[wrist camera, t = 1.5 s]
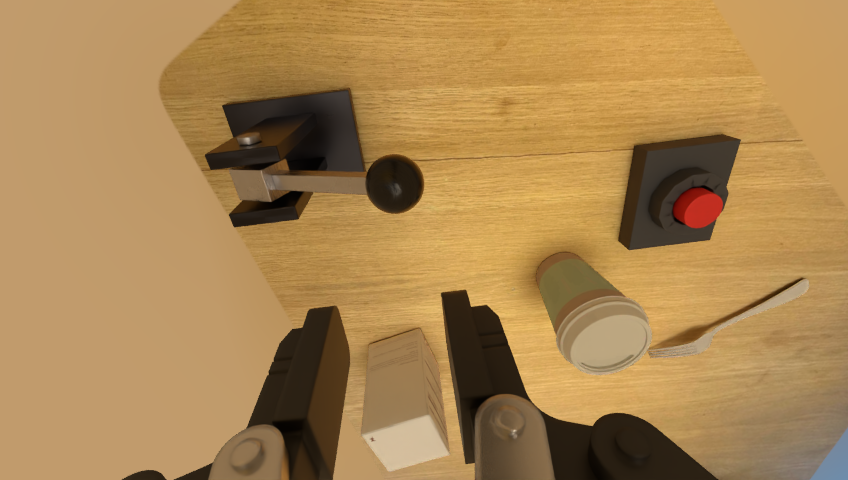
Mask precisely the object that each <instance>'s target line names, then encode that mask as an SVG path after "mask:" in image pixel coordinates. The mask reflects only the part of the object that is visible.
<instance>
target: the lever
mask: <svg viewBox="0 0 848 480" xmlns="http://www.w3.org/2000/svg"><path fill="white" fill-rule="evenodd" d="M229 172H230V175H231V177H232V180H233V182H234V185H235V188H236V190H237V193H238V196H239V198H240V200H246V201H261V202H273V201H274V200H276V199H278V198H280V197H281V196H283V195H285V194H286V193H288V192H290V191H303V192H323V193H342V194H362V195H368V197H369V199H370V201H371V202H372V203H373V204H374V206H376V207H377V208H378V209H380V210H382V211H384V212H386V213H391V214H399V213H404V212H406V211H408V210H410V209H412V208H413V207H414V206H415V205H416V204H417V203H418V202H419V201H420V199H421V197H422V194H423V191H424V178H423V174H422V172H421V170H420V168H419V167H418V165H417V164H416V163H415V162H414V161H413V160H411V159H410V158H408V157H406V156H403V155H398V154H390V155H386V156H383V157H381V158H379V159H378V160H376V161H375V162H374V163H373V164H372V165H371V167H370V168H369V170H368V172H344V171H303V170H289V167H288V164H287V161H286V159H282V160H281V161H279V162H271V163H263V164H255V165H247V166H239V167H233V168H231V169H229Z"/></svg>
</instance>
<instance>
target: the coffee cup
mask: <svg viewBox="0 0 848 480" xmlns="http://www.w3.org/2000/svg"><path fill="white" fill-rule="evenodd" d="M536 281H537V284H538V287H539V289H540V292H541V295H542V298H543V301H544V303H545V306H546V309H547V311H548V314H549V317H550V320H551V322H552V325H553V328H554V331H555V333H556V336H557V337H556V342H557V347H558V349H559V351H560V353H561V354H562V355H563V356H564V358H565V359H566V360H567V361H569V362H570V363H571V364H573V365H574V366H575V367H576V368H577V369H579V370H580V371H582V372H584V373H587V374H592V375H606V374H612V373H616V372H618V371H621V370H624V369H626V368H628V367H629V366H631V365H633V364H634V363H636V362H637V361H638V360H639V359H640V358H641V357H642V356H643V355H644V354H645V353H646V351H647V350H648V348H649V346H650V344H651V340H652V331H651V328H650V326H649V320H648V317H647V315H646V313H645V312H644V310H643V308H642V307H641V306H640V305H639V304H638V303H637V302H636V301H634V300H632V299H630V298H627V297H625V296H624V295H623V294H622V293H621V292H620V291H619V290H617V289H616V288H615V287H614V286H613V285H612V284H610V283H609V282H608V281H607V280H606V279H605V278H603V277H602V276H601V275H600V274H599V273H598V272H596V271H595V270H594V269H593V268H592V267H591V266H589V265H588V264H587V263H586V262H585V261H583V260H582V259H581V258H580V257H579V256H577V255H575V254H573V253H568V252H563V253H558V254H555V255H552V256H550V257H549V258H547V259H546V260H545V261H543V263H542V264H541V265H540V266H539V268H538V270H537V273H536Z"/></svg>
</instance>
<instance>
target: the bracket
mask: <svg viewBox="0 0 848 480" xmlns="http://www.w3.org/2000/svg"><path fill="white" fill-rule="evenodd" d="M222 107H223V110H224V112H225V115H226V118H227V121H228V124H229V126H230V129H231V132H232V135H233V138H232V139H230V140H229V141H227V142H225V143H224V144H222V145H220V146H219V147H217V148H215V149H213V150H212V151H210V152H208V153H207V154H205V157H206V159H207V162H208V164H209V167H210V169H211V170H215V169H223V168H231V167H239V166H247V165H255V164H263V163H271V162H279V161H281V160H282V159H286V161H287V164H288V167H289V170H303V171H344V172H366V169H365V164H364V159H363V154H362V149H361V143H360V138H359V133H358V128H357V123H356V117H355V112H354V107H353V102H352V96H351V91H350V88H347V89H339V90H331V91H323V92H315V93H307V94H298V95H290V96H282V97H274V98H266V99H258V100H250V101H242V102H234V103H227V104H225V105H222ZM312 194H313V192H303V191H290V192H288V193H286V194H285V195H283V196H281V197H280V198H278V199H276V200H274V201H273V202H261V201H246V200H243V201H242V202H241V203H240V204H239V205H238V206H237V207H236V208H235V209H234V210H233V211H232V212H231V213H230V214H229V216H230V219H231V221H232V224H233V226H234V227H241V226H249V225H257V224H265V223H276V222H281V221H289V220H297V219H299V217H300V216H301V214H302V212H303V210H304V208H305V207H306V205H307V203H308V201H309V199H310V198H311V196H312Z"/></svg>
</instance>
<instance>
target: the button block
mask: <svg viewBox="0 0 848 480" xmlns="http://www.w3.org/2000/svg"><path fill="white" fill-rule="evenodd" d="M740 141H741V140H740V139H737V138H733V137H730V136H726V135H716V136H708V137H700V138H692V139H684V140H676V141H668V142H660V143H652V144H644V145H636V146H635V147H634V153H633V159H632V164H631V170H630V176H629V182H628V188H627V194H626V200H625V205H624V211H623V217H622V223H621V229H620V235H619V242H621V243H622V244H623V245H624V246H625V247H626V248H627V249H628V250H633V249H641V248H649V247H657V246H665V245H673V244H681V243H689V242H697V241H705V240H710V238H711V235H712V232H713V228H714V225H715V222H716V219H717V218H716V219H715V220H714V221H713V222H712V223H710V224H709V225H707V226H705V227H701V228H691V227H689V226H687V225H686V224H684V223H683V222H681V221H680V220H678V219H677V218H676V217H675V216H674V214H673V206H674V203H675V201H676V200H677V198H678V197H679V196H680V195H681V194H682V193H684V192H685V191H687V190H689V189H691V188H697V187H700V188H704V189H706V190H708V191H710V192H712V193H714V194H717V195H718V196H719V197H720V198H721V199H722V202H723V207H722V211H723V209H724V206H725V203H726V200H727V197H728V190H727V187H726V186H727V183H728V180H729V177H730V173H731V170H732V167H733V164H734V160H735V157H736V154H737V151H738V147H739V144H740ZM722 211H721V212H722Z"/></svg>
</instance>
